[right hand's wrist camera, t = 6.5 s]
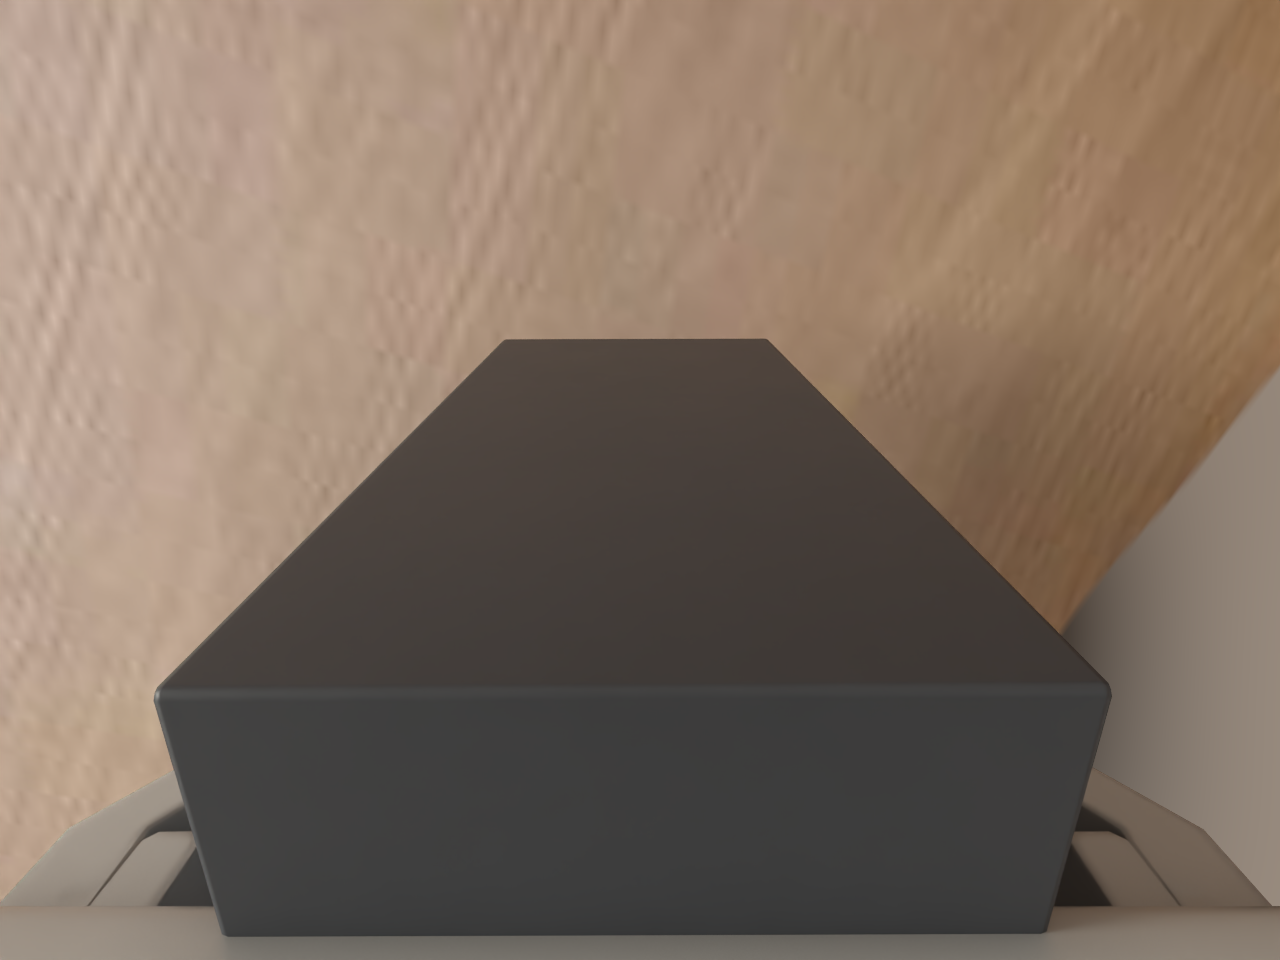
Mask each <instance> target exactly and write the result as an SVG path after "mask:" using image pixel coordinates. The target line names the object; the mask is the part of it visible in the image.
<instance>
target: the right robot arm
mask: <svg viewBox="0 0 1280 960" xmlns="http://www.w3.org/2000/svg"><path fill="white" fill-rule="evenodd" d="M0 960H1280V906H1272V905H1271V904H1270V903H1269V902H1268V901H1267V900H1266V899H1265V898H1264V896H1263V895H1262V894H1261V893H1260V892H1259V891H1258V890H1257V889H1256V887H1255V886H1254V885H1253V884H1252V883H1251V882H1250V881H1249V880H1248V879H1247V877H1246V876H1245V875H1244V874H1243V873H1242V872H1241V871H1240V870H1239V869H1238V867H1237V866H1236V865H1235V864H1234V863H1233V862H1232V861H1231V860H1230V859H1229V858H1228V856H1227V855H1226V854H1225V853H1224V852H1223V851H1222V850H1221V849H1220V847H1219V846H1218V845H1217V844H1216V843H1215V842H1214V841H1213V840H1212V838H1211V837H1210V836H1209V835H1208V834H1207V833H1206V832H1205V831H1204V830H1203V829H1202V828H1200V827H1198V826H1196V825H1195V824H1193V823H1191V822H1189V821H1187V820H1186V819H1184V818H1182V817H1180V816H1178V815H1177V814H1175V813H1173V812H1171V811H1170V810H1168V809H1166V808H1164V807H1162V806H1161V805H1159V804H1157V803H1155V802H1153V801H1152V800H1150V799H1148V798H1146V797H1145V796H1143V795H1141V794H1139V793H1137V792H1136V791H1134V790H1132V789H1130V788H1128V787H1127V786H1125V785H1123V784H1121V783H1119V782H1118V781H1116V780H1114V779H1112V778H1111V777H1109V776H1107V775H1105V774H1104V773H1102V772H1100V771H1098V770H1096V769H1095V768H1093V767H1092V770H1091V773H1090V777H1089V781H1088V784H1087V788H1086V791H1085V795H1084V799H1083V802H1082V806H1081V809H1080V813H1079V817H1078V820H1077V824H1076V827H1075V831H1074V835H1073V838H1072V842H1071V845H1070V849H1069V853H1068V856H1067V860H1066V864H1065V867H1064V871H1063V874H1062V878H1061V882H1060V885H1059V889H1058V892H1057V896H1056V900H1055V903H1054V907H1053V910H1052V914H1051V918H1050V921H1049V925H1048V928H1047V931H1046V932H1044V933H1042V934H863V935H596V936H323V937H227V936H225V935H222V933H221V930H220V926H219V923H218V920H217V916H216V913H215V909H214V906H213V902H212V899H211V896H210V892H209V889H208V885H207V882H206V878H205V875H204V872H203V868H202V865H201V861H200V858H199V854H198V851H197V847H196V844H195V841H194V837H193V834H192V830H191V827H190V823H189V820H188V817H187V813H186V810H185V806H184V803H183V799H182V796H181V793H180V789H179V786H178V782H177V779H176V775H175V772H174V770H173V771H171V772H169V773H167V774H166V775H164V776H162V777H160V778H158V779H156V780H155V781H153V782H151V783H149V784H147V785H146V786H144V787H142V788H140V789H138V790H137V791H135V792H133V793H131V794H129V795H128V796H126V797H124V798H122V799H120V800H119V801H117V802H115V803H113V804H111V805H109V806H108V807H106V808H104V809H102V810H100V811H99V812H97V813H95V814H93V815H91V816H90V817H88V818H86V819H84V820H82V821H81V822H79V823H77V824H75V825H73V826H72V827H70V828H68V829H67V830H66V831H65V832H64V833H63V835H62V836H61V837H60V838H59V839H58V840H57V841H56V842H55V843H54V844H53V845H52V847H51V848H50V849H49V850H48V851H47V852H46V853H45V854H44V855H43V856H42V857H41V858H40V860H39V861H38V862H37V863H36V864H35V865H34V866H33V867H32V868H31V869H30V870H29V872H28V873H27V874H26V875H25V876H24V877H23V878H22V879H21V880H20V881H19V882H18V883H17V885H16V886H15V887H14V888H13V889H12V890H11V891H10V892H9V893H8V894H7V895H6V897H5V898H4V899H3V900H2V901H1V902H0Z"/></svg>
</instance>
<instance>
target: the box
mask: <svg viewBox="0 0 1280 960" xmlns="http://www.w3.org/2000/svg"><path fill="white" fill-rule="evenodd" d="M1111 697H1112V695H1111V689H1110V686H1109V684H1108V682H1107V681H1106V680H1105V679H1104V678H1103V677H1102V676H1101V675H1100V674H1099V673H1098V672H1097V671H1096V670H1095V669H1094V668H1093V667H1092V666H1091V665H1090V664H1089V663H1088V662H1087V661H1086V660H1085V659H1084V658H1083V657H1082V656H1081V655H1080V654H1079V653H1078V652H1077V651H1076V650H1075V649H1074V648H1073V647H1072V646H1071V645H1070V644H1069V643H1068V642H1067V641H1066V640H1065V639H1064V638H1063V637H1062V636H1061V635H1060V634H1059V633H1058V632H1057V631H1056V630H1055V629H1054V628H1053V627H1052V626H1051V625H1050V624H1049V623H1048V622H1047V621H1046V620H1045V619H1044V618H1043V617H1042V616H1041V615H1040V614H1039V613H1038V612H1037V611H1036V610H1035V609H1034V608H1033V607H1032V606H1031V605H1030V604H1029V603H1028V602H1027V601H1026V600H1025V599H1024V598H1023V597H1022V596H1021V595H1020V594H1019V593H1018V592H1017V591H1016V590H1015V589H1014V588H1013V587H1012V586H1011V585H1010V584H1009V583H1008V582H1007V581H1006V580H1005V579H1004V578H1003V577H1002V576H1001V575H1000V574H999V573H998V572H997V571H996V570H995V569H994V567H993V566H992V565H991V564H990V563H989V562H988V561H987V560H986V559H985V558H984V557H983V556H982V555H981V554H980V553H979V552H978V551H977V550H976V549H975V548H974V547H973V546H972V545H971V544H970V543H969V542H968V541H967V540H966V539H965V538H964V537H963V536H962V535H961V534H960V533H959V532H958V531H957V530H956V529H955V528H954V527H953V526H952V525H951V524H950V523H949V522H948V521H947V520H946V519H945V518H944V517H943V516H942V515H941V514H940V513H939V512H938V511H937V510H936V509H935V508H934V507H933V506H932V505H931V504H930V503H929V502H928V501H927V500H926V499H925V498H924V497H923V496H922V495H921V494H920V493H919V492H918V491H917V490H916V489H915V488H914V487H913V486H912V485H911V484H910V483H909V482H908V481H907V480H906V479H905V478H904V477H903V476H902V475H901V474H900V473H899V472H898V471H897V470H896V469H895V468H894V467H893V466H892V465H891V464H890V463H889V462H888V461H887V460H886V459H885V458H884V457H883V456H882V455H881V454H880V453H879V452H878V451H877V450H876V449H875V448H874V446H873V445H872V444H871V443H870V442H869V441H868V440H867V439H866V438H865V437H864V436H863V435H862V434H861V433H860V432H859V431H858V430H857V429H856V428H855V427H854V426H853V425H852V424H851V423H850V422H849V421H848V420H847V419H846V418H845V417H844V416H843V415H842V414H841V413H840V412H839V411H838V410H837V409H836V408H835V407H834V406H833V405H832V404H831V403H830V402H829V401H828V400H827V399H826V398H825V397H824V396H823V395H822V394H821V393H820V392H819V391H818V390H817V389H816V388H815V387H814V386H813V385H812V384H811V383H810V382H809V381H808V380H807V379H806V378H805V377H804V376H803V375H802V374H801V373H800V372H799V371H798V370H797V369H796V368H795V367H794V366H793V365H792V364H791V363H790V362H789V361H788V360H787V359H786V358H785V357H784V356H783V355H782V354H781V353H780V352H779V351H778V350H777V349H776V348H775V347H774V346H773V345H772V344H771V343H770V342H769V341H768V340H767V339H527V340H504V341H503V342H502V343H501V344H500V345H499V346H498V347H497V348H496V349H495V350H494V351H493V352H492V353H491V354H490V355H489V356H488V357H487V358H486V359H485V360H484V361H483V362H482V363H481V364H480V365H479V366H478V367H477V368H476V369H475V370H474V371H473V372H472V373H471V374H470V375H469V376H468V377H467V378H466V379H465V380H464V381H463V382H462V383H461V384H460V385H459V386H458V387H457V388H456V389H455V390H454V391H453V392H452V393H451V394H450V395H449V396H448V397H447V398H446V399H445V400H444V401H443V402H442V403H441V404H440V405H439V406H438V407H437V408H436V409H435V410H434V411H433V412H432V413H431V414H430V415H429V416H428V417H427V418H426V419H425V420H424V421H423V422H422V423H421V424H420V425H419V426H418V427H417V428H416V429H415V430H414V431H413V432H412V433H411V434H410V435H409V436H408V437H407V438H406V439H405V440H404V441H403V442H402V443H401V444H400V445H399V446H398V447H397V448H396V449H395V450H394V451H393V452H392V453H391V454H390V455H389V456H388V457H387V458H386V459H385V460H384V461H383V462H382V463H381V464H380V465H379V466H378V467H377V468H376V469H375V470H374V471H373V472H372V473H371V474H370V475H369V476H368V477H367V478H366V479H365V480H364V481H363V482H362V483H361V484H360V485H359V486H358V487H357V488H356V489H355V490H354V491H353V492H352V493H351V494H350V495H349V496H348V497H347V498H346V499H345V500H344V501H343V502H342V503H341V504H340V505H339V506H338V507H337V508H336V509H335V510H334V511H333V512H332V513H331V514H330V515H329V516H328V517H327V518H326V519H325V520H324V521H323V522H322V523H321V524H320V525H319V526H318V527H317V528H316V529H315V530H314V531H313V532H312V533H311V534H310V535H309V536H308V537H307V538H306V539H305V540H304V541H303V542H302V543H301V544H300V545H299V546H298V547H297V548H296V549H295V550H294V551H293V552H292V553H291V554H290V555H289V556H288V557H287V558H286V559H285V560H284V561H283V562H282V563H281V564H280V565H279V566H278V567H277V568H276V569H275V570H274V571H273V572H272V573H271V574H270V575H269V576H268V577H267V578H266V579H265V580H264V581H263V582H262V583H261V584H260V585H259V586H258V587H257V588H256V589H255V590H254V591H253V592H252V593H251V594H250V595H249V596H248V597H247V598H246V599H245V600H244V601H243V602H242V603H241V604H240V605H239V606H238V607H237V608H236V609H235V610H234V611H233V612H232V613H231V614H230V615H229V616H228V617H227V618H226V619H225V620H224V621H223V622H222V623H221V624H220V625H219V626H218V627H217V628H216V629H215V630H214V631H213V632H212V633H211V634H210V635H209V636H208V637H207V638H206V639H205V640H204V641H203V642H202V643H201V644H200V645H199V646H198V647H197V648H196V649H195V650H194V651H193V652H192V653H191V654H190V655H189V656H188V657H187V658H186V659H185V660H184V661H183V662H182V663H181V664H180V665H179V666H178V667H177V668H176V669H175V670H174V671H173V672H172V673H171V674H170V675H169V676H168V677H167V678H166V679H165V680H164V681H163V682H162V683H161V684H160V685H159V686H158V687H157V689H156V692H155V695H154V703H155V707H156V710H157V714H158V717H159V720H160V724H161V727H162V731H163V734H164V738H165V741H166V744H167V748H168V751H169V755H170V758H171V762H172V765H173V768H174V772H175V775H176V779H177V782H178V786H179V789H180V793H181V796H182V799H183V803H184V806H185V810H186V813H187V817H188V820H189V823H190V827H191V830H192V834H193V837H194V841H195V844H196V847H197V851H198V854H199V858H200V861H201V865H202V868H203V872H204V875H205V878H206V882H207V885H208V889H209V892H210V896H211V899H212V902H213V906H214V909H215V913H216V916H217V920H218V923H219V926H220V930H221V933H222V935H225V936H227V937H323V936H596V935H863V934H1042V933H1044V932H1046V931H1047V928H1048V925H1049V921H1050V918H1051V914H1052V910H1053V907H1054V903H1055V900H1056V896H1057V892H1058V889H1059V885H1060V882H1061V878H1062V874H1063V871H1064V867H1065V864H1066V860H1067V856H1068V853H1069V849H1070V845H1071V842H1072V838H1073V835H1074V831H1075V827H1076V824H1077V820H1078V817H1079V813H1080V809H1081V806H1082V802H1083V799H1084V795H1085V791H1086V788H1087V784H1088V781H1089V777H1090V773H1091V770H1092V766H1093V762H1094V759H1095V755H1096V752H1097V748H1098V744H1099V741H1100V737H1101V734H1102V730H1103V726H1104V723H1105V719H1106V716H1107V712H1108V708H1109V705H1110V701H1111Z"/></svg>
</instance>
